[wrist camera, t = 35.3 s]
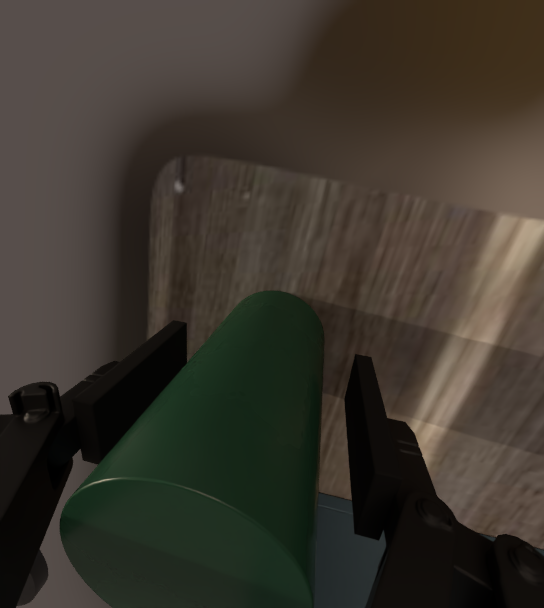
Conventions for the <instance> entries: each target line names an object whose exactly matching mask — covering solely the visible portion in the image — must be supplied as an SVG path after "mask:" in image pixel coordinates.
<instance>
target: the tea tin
mask: <svg viewBox="0 0 544 608" xmlns="http://www.w3.org/2000/svg"><path fill="white" fill-rule="evenodd" d="M323 363H324V331H323V327H322V324H321V322H320V320H319V318H318V316H317V315H316V313H315V312H314V310H313V309H312V308H311V307H310V306H309V305H308V304H307V303H305V302H304V301H303V300H301V299H300V298H298V297H296V296H294V295H291V294H288V293H285V292H281V291H263V292H258V293H255V294H252V295H250V296H248V297H247V298H245V299H243V300H242V301H241V302H240V303H239V304H238V305H237V306H236V307H235V308H234V309H233V311H232V312H231V313H230V314H229V315H228V316H227V318H226V319H225V320H224V321H223V322H222V323H221V324H220V326H219V327H218V328H217V329H216V330H215V331H214V332H213V334H212V335H211V336H210V337H209V338H208V339H207V341H206V342H205V343H204V344H203V345H202V346H201V347H200V349H199V350H198V351H197V352H196V353H195V354H194V355H193V357H192V358H191V359H190V360H189V361H188V362H187V364H186V365H185V366H184V367H183V368H182V369H181V370H180V372H179V373H178V374H177V375H176V376H175V377H174V378H173V380H172V381H171V382H170V383H169V384H168V385H167V387H166V388H165V389H164V390H163V391H162V392H161V393H160V395H159V396H158V397H157V398H156V399H155V400H154V402H153V403H152V404H151V405H150V406H149V407H148V408H147V410H146V411H145V412H144V413H143V414H142V415H141V416H140V418H139V419H138V420H137V421H136V422H135V423H134V425H133V426H132V427H131V428H130V429H129V430H128V431H127V433H126V434H125V435H124V436H123V437H122V438H121V439H120V441H119V442H118V443H117V444H116V445H115V446H114V448H113V449H112V450H111V451H110V452H109V453H108V454H107V456H106V457H105V458H104V459H103V460H102V461H101V462H100V464H99V465H98V466H97V467H96V468H95V469H94V471H93V472H92V473H91V474H90V475H89V476H88V478H87V479H86V480H85V481H84V482H83V483H82V484H81V485H80V487H79V488H78V489H77V490H76V491H75V492H74V494H73V495H72V496H71V497H70V498H69V499H68V501H67V502H66V504H65V506H64V508H63V511H62V514H61V518H60V535H61V541H62V544H63V547H64V549H65V552H66V554H67V556H68V558H69V560H70V562H71V563H72V565H73V566H74V568H75V569H76V571H77V572H78V574H79V575H80V576H81V577H82V579H83V580H84V581H85V583H87V585H88V586H89V587H90V588H91V589H92V590H93V591H94V592H95V593H96V594H97V595H98V596H99V597H100V598H102V599H103V600H104V601H105V602H106V603H108V604H109V605H110V606H111V607H112V608H314V601H315V574H316V548H317V521H318V495H319V469H320V442H321V416H322V389H323Z"/></svg>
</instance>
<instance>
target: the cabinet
mask: <svg viewBox="0 0 544 608" xmlns="http://www.w3.org/2000/svg"><path fill="white" fill-rule="evenodd" d="M478 534H479V533H478ZM480 535H482V536H484V537H486V538H488V539H489V540H491V541H493V542H494V540H495V539H496V538H494V537H490V536H486V535H483V534H480ZM385 548H386V541H385V535H384V530H383V532H382V535H381V537H380V540H379V541H378V540H375V539H371V538H367V537H364V536H360V535H356V534H354V522H353V508H352V501H350V500H346V499H342V498H338V497H334V496H330V495H326V494H322V493H319V495H318V521H317V548H316V574H315V601H314V608H365V606H366V603H367V600H368V597H369V594H370V591H371V588H372V586H373V583H374V580H375V577H376V574H377V571H378V568H377V567H378V565H379V562H380V560H381V558H382V555H383V553H384V550H385ZM535 549H536V550H537V551H538V552H540V553H541V554H542V555H543V556H544V550H541V549H537V548H535Z"/></svg>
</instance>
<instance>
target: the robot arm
mask: <svg viewBox="0 0 544 608" xmlns="http://www.w3.org/2000/svg"><path fill="white" fill-rule="evenodd" d="M186 364H187V323H185V322H179V321H174V320H173V321H172V322H171V323H169V324H168V325H167V326H166V327H164V328H163V329H162V330H160V331H159V332H158V333H157V334H155V335H154V336H153V337H151V338H150V339H149V340H148V341H146V342H145V343H144V344H142V345H141V346H140V347H139V348H137V349H136V350H135V351H133V352H132V353H131V354H130V355H128V356H127V357H126V358H125V359H123V360H122V361H121V362H117V361H113V362H110V363H108V364H106V365H103V366H101V367H100V368H99V369H97V370H96V371H95V372H93V373H92V375H89V376H88V377H86V378H85V379H84V381H81V382H80V383H78V384H77V385H75V386H74V387H73V388H71V389H70V390H69V391H67V392H66V393H65V394H63V395H62V396H60V395H59V390H58V387H57V386H56V384H54V383H51V382H38V383H32V384H29V385H26V386H23V387H21V388H19V389H17V390H15V391H14V392H13V393H11V394H10V395H9V396H8V398H9V401H10V405H11V408H12V412H13V414H11V415H0V608H16V606H17V603H18V601H19V599H20V596H21V594H22V591H23V589H24V586H25V584H26V581H27V579H28V576H29V574H30V571H31V569H32V566H33V564H34V561H35V559H36V556H37V554H38V551H39V549H40V546H41V544H42V541H43V539H44V536H45V534H46V531H47V529H48V526H49V524H50V521H51V519H52V517H53V514H54V511H55V509H56V506H57V504H58V501H59V499H60V497H61V494H62V492H63V489H64V487H65V484H66V482H67V479H68V477H69V474H70V472H71V469H72V466H73V458H72V457H73V456H74V455H75V454H76V453H77V452H78V450H79V449H81V452H82V458H83V460H84V461H87V462H91V463H95V464H98V465H99V464H100V462H101V461H102V460H103V459H104V458H105V457H106V456H107V454H108V453H109V452H110V451H111V450H112V449H113V448H114V446H115V445H116V444H117V443H118V442H119V441H120V439H121V438H122V437H123V436H124V435H125V434H126V433H127V431H128V430H129V429H130V428H131V427H132V426H133V425H134V423H135V422H136V421H137V420H138V419H139V418H140V416H141V415H142V414H143V413H144V412H145V411H146V410H147V408H148V407H149V406H150V405H151V404H152V403H153V402H154V400H155V399H156V398H157V397H158V396H159V395H160V393H161V392H162V391H163V390H164V389H165V388H166V387H167V385H168V384H169V383H170V382H171V381H172V380H173V378H174V377H175V376H176V375H177V374H178V373H179V372H180V370H181V369H182V368H183V367H184V366H185V365H186ZM345 413H346V427H347V440H348V454H349V468H350V481H351V495H352V508H353V522H354V534H356V535H360V536H364V537H367V538H371V539H375V540H378V541H379V540H380V537H381V535H382V532H383V530H384V535H385V541H386V548H385V550H384V553H383V555H382V558H381V560H380V562H379V565H378V567H377V568H378V571H377V574H376V577H375V580H374V583H373V586H372V588H371V591H370V594H369V597H368V600H367V603H366V606H365V608H544V556H543V555H542V554H541V553H540V552H538V551H537V550H536V549H535V548H534V547H532V546H531V545H530V544H528V543H527V542H525V541H523V540H521V539H520V538H518V537H515V536H511V535H508V534H503V535H498V536H497V537H496V539H495V540H494V542H493V541H491V540H489V539H488V538H486V537H484V536H482V535H480V534H478V533H476V532H474V531H473V530H471V529H469V528H467V527H466V526H464V525H462V524H461V523H459V522H458V521H457V520H456V518H455V516H454V514H453V512H452V511H451V510H450V508H449V507H448V506H447V505H446V504H445V503H444V502H443V501H442V500H440V499H439V498H438V497H437V495H436V492H435V489H434V486H433V484H432V481H431V478H430V475H429V472H428V470H427V467H426V464H425V461H424V459H423V457H422V453H421V450H420V448H419V447H418V446H419V445H418V442H417V439H416V436H415V434H414V432H413V431H412V430H411V429H410V427H409V426H408V425H407V424H406V422H403V421H398V420H393V419H389V418H387V416H386V412H385V408H384V404H383V401H382V397H381V393H380V389H379V385H378V381H377V378H376V374H375V370H374V366H373V362H372V358H371V357H368V356H362V355H357V354H355V358H354V362H353V366H352V370H351V374H350V378H349V382H348V386H347V390H346V395H345Z"/></svg>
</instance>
